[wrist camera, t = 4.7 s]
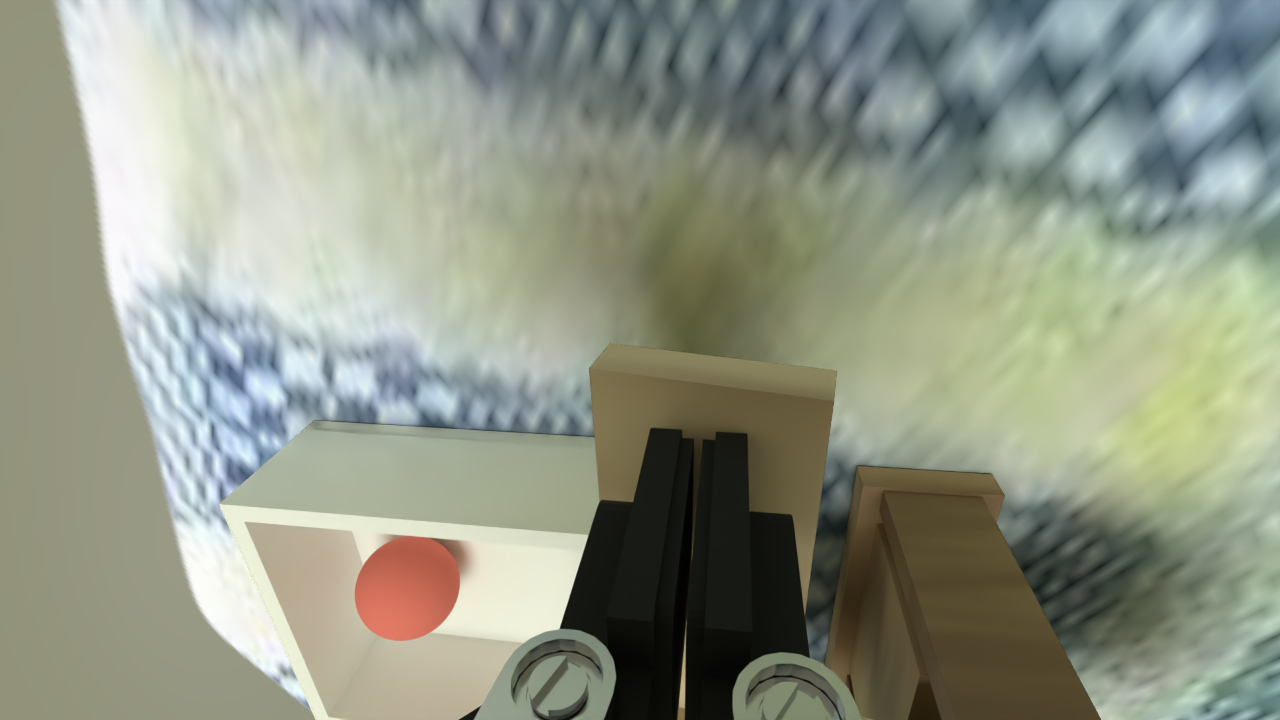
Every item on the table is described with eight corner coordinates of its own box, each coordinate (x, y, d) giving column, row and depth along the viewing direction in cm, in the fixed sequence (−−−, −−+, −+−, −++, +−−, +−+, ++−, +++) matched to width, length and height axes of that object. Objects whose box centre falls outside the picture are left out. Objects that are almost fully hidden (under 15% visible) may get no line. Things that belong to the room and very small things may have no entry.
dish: (313, 420, 22) (219, 503, 18) (651, 440, 20) (629, 538, 16) (380, 623, 27) (318, 724, 23) (656, 654, 25) (641, 769, 21)
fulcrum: (857, 465, 19) (938, 759, 11) (992, 474, 19) (1177, 790, 11) (824, 664, 24) (866, 975, 16) (932, 676, 23) (1033, 1005, 15)
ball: (462, 514, 22) (368, 516, 22) (433, 590, 19) (324, 592, 19) (477, 582, 24) (388, 584, 24) (452, 662, 21) (351, 664, 21)
